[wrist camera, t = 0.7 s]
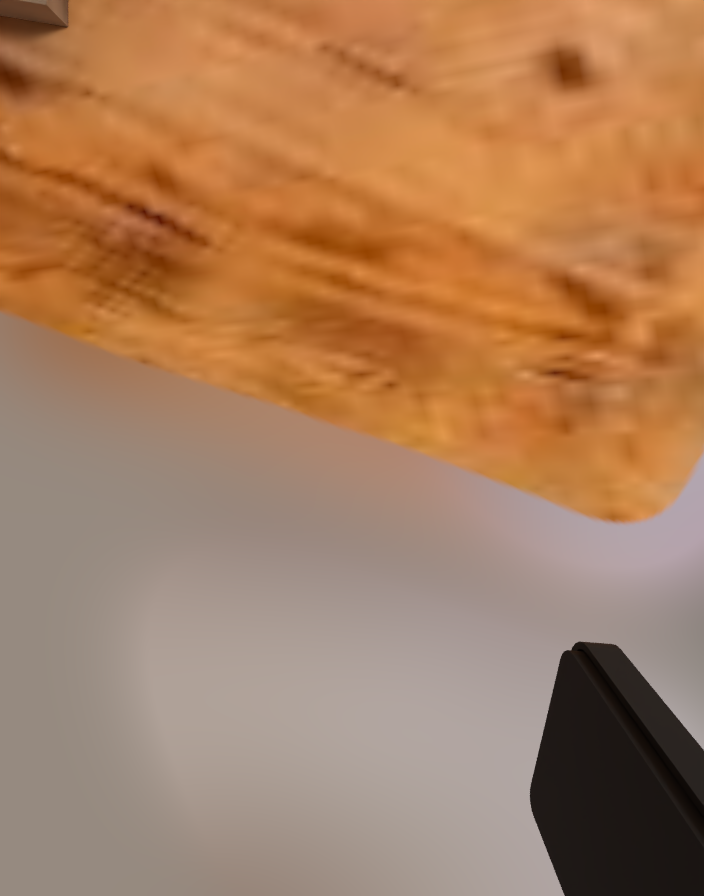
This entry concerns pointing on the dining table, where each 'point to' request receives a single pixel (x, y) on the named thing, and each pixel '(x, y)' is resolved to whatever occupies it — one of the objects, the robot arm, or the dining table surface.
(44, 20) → the plank
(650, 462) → the dining table surface
